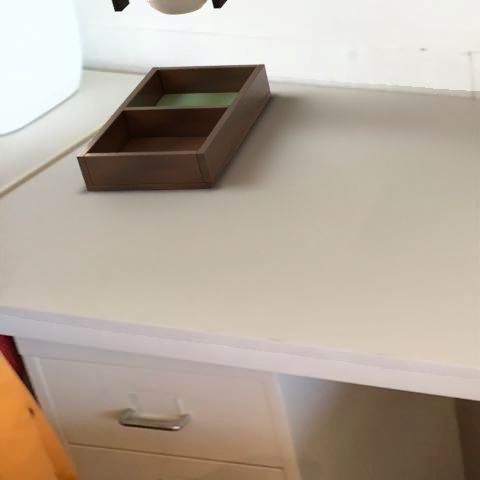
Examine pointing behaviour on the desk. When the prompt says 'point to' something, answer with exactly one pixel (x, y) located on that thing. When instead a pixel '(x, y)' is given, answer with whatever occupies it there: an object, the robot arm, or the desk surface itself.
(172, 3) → the teacup
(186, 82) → the wooden compartment tray
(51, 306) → the desk surface
